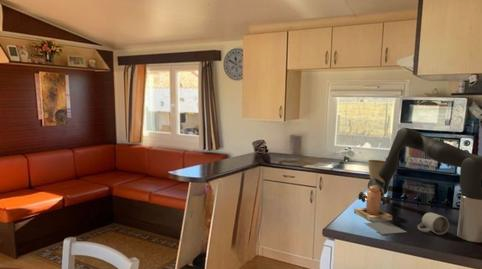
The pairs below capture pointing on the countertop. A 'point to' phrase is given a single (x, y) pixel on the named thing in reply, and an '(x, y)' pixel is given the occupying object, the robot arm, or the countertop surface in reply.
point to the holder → (363, 214)
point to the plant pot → (375, 169)
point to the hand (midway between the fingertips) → (373, 201)
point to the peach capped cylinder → (373, 200)
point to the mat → (385, 228)
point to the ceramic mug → (434, 223)
